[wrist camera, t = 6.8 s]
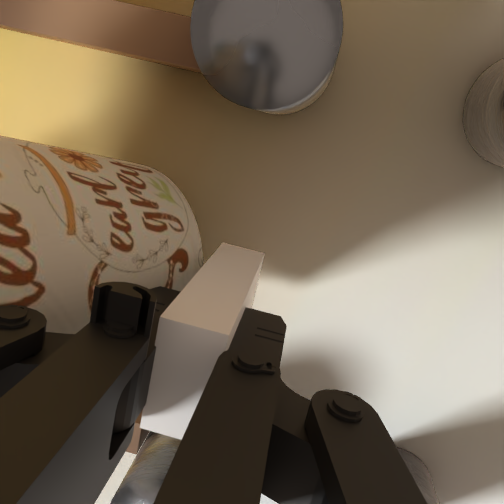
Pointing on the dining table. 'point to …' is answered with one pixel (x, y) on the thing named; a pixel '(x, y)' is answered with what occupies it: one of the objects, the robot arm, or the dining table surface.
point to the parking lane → (107, 46)
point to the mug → (87, 230)
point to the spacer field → (285, 102)
